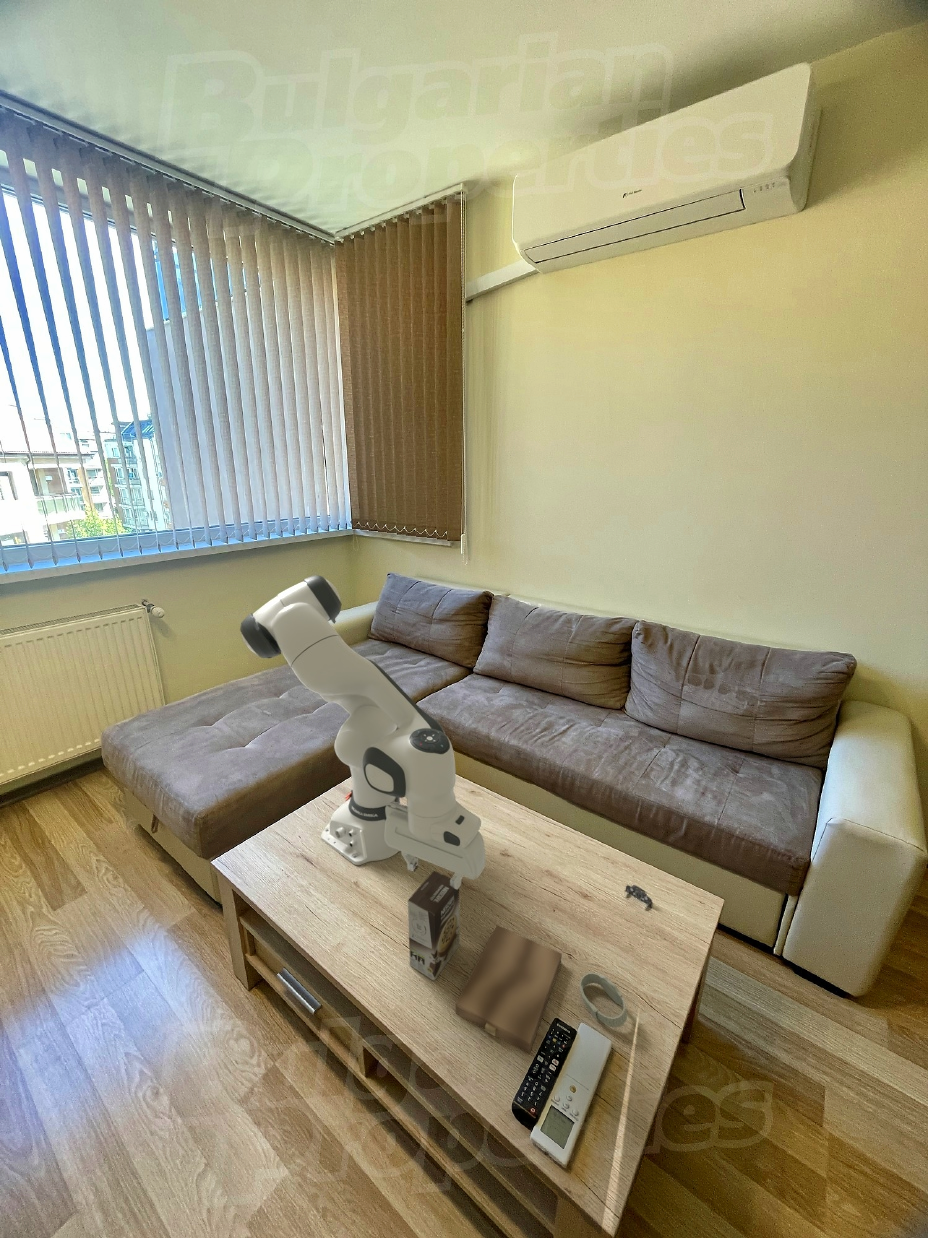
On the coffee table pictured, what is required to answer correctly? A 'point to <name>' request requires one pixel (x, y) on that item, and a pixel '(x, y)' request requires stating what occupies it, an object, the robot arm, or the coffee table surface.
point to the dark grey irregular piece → (639, 894)
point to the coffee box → (433, 925)
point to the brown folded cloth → (510, 988)
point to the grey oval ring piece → (611, 992)
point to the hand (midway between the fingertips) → (433, 877)
